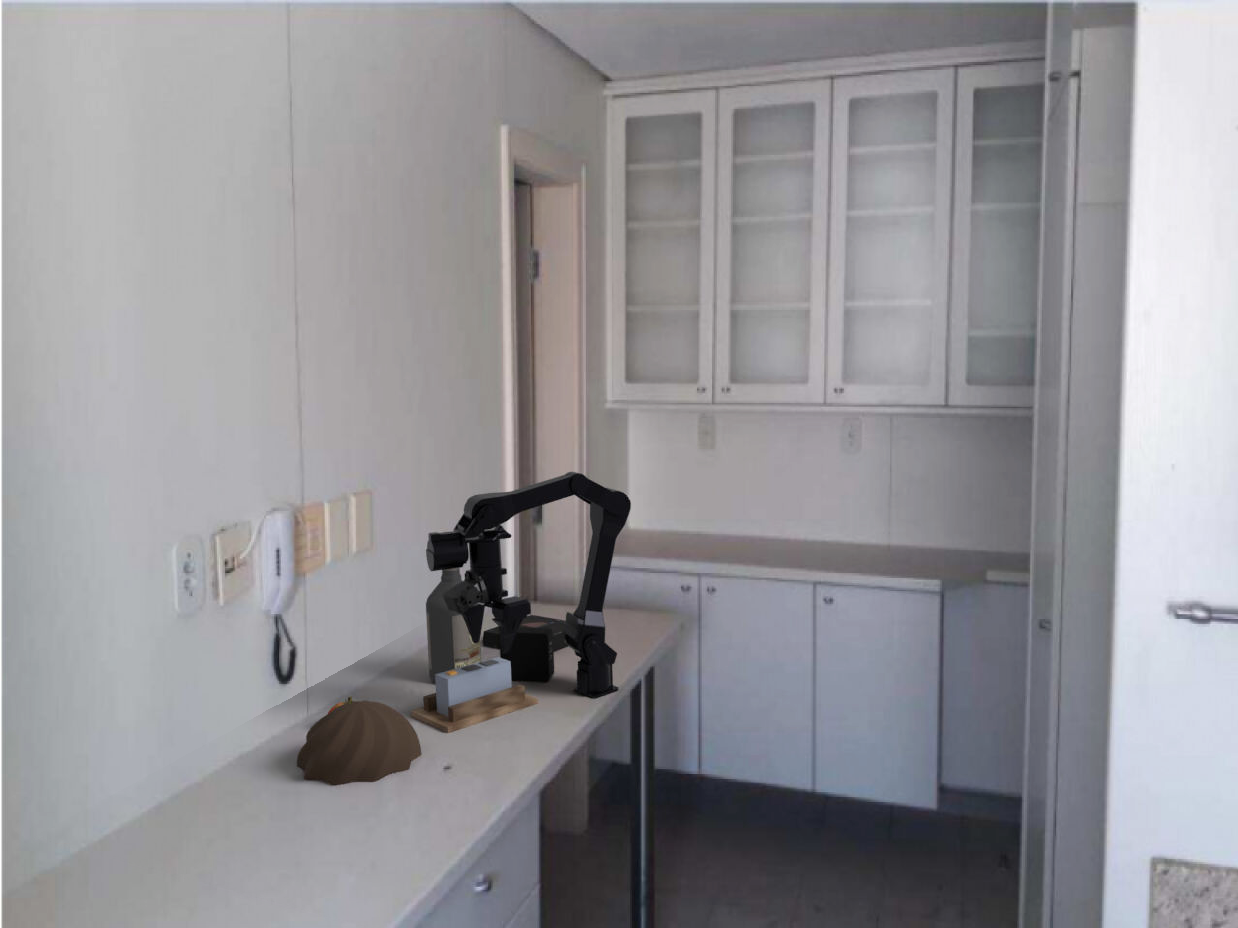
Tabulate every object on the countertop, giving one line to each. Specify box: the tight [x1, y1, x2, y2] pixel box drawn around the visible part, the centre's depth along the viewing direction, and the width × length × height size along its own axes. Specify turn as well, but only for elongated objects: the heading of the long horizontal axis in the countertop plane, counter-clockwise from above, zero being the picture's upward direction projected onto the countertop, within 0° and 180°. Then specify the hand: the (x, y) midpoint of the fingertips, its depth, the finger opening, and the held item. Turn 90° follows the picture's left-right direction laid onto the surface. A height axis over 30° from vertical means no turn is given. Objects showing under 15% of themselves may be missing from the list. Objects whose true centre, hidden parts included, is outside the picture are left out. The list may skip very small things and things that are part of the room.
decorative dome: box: [296, 699, 422, 787], centre depth 163 cm, size 19×20×10 cm
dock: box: [410, 684, 539, 734], centre depth 185 cm, size 20×12×4 cm, turn 134°
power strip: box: [435, 656, 513, 716], centre depth 185 cm, size 14×4×7 cm, turn 134°
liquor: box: [425, 568, 482, 685], centre depth 202 cm, size 9×9×30 cm
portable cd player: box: [481, 614, 569, 653], centre depth 228 cm, size 16×17×4 cm
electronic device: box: [499, 627, 555, 683], centre depth 202 cm, size 4×10×10 cm, turn 78°
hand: (490, 647), depth 184 cm, fingers open, 9 cm apart
